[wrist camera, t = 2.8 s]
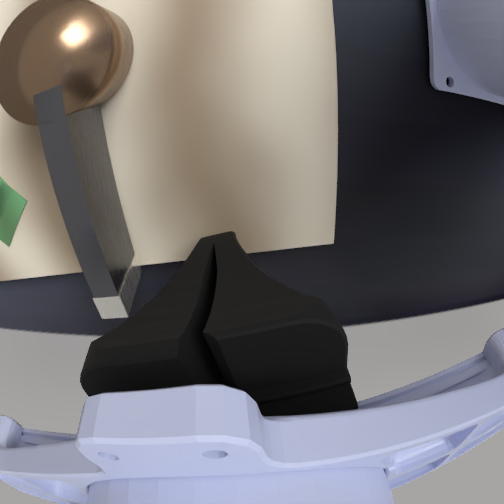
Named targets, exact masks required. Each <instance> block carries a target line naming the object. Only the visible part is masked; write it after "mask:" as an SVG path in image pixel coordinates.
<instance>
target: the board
mask: <svg viewBox="0 0 504 504" xmlns="http://www.w3.org/2000/svg"><path fill="white" fill-rule="evenodd" d="M36 1H37V0H0V41H1V39H2V37H3V35H4V33H5V32H6V30H7V28H8V27H9V25H10V24H11V23H12V21H13V20H14V19H15V18H16V17H17V16H18V15H19V14H20V13H21V12H22V11H23V10H24V9H25V8H27V7H28V6H29V5H31V4H32V3H34V2H36ZM90 1H92V2H94V3H96V4H98V5H100V6H102V7H104V8H106V9H108V10H110V11H112V12H114V13H115V14H117V15H118V16H120V17H121V18H122V19H123V20H124V21H125V23H126V24H127V25H128V27H129V29H130V31H131V34H132V38H133V44H134V53H133V60H132V65H131V68H130V71H129V73H128V75H127V77H126V79H125V81H124V82H123V84H122V85H121V87H120V88H119V89H118V91H117V92H116V93H115V94H114V95H113V96H112V97H110V98H109V99H108V100H107V101H105V102H104V103H102V104H101V105H100V106H101V112H102V118H103V123H104V129H105V134H106V140H107V145H108V150H109V154H110V159H111V164H112V168H113V173H114V177H115V182H116V186H117V190H118V194H119V198H120V202H121V206H122V210H123V214H124V217H125V221H126V225H127V228H128V232H129V235H130V239H131V242H132V246H133V249H134V252H135V253H136V255H137V258H138V261H139V265H149V264H158V263H167V262H175V261H184V260H186V259H187V258H188V256H189V255H190V253H191V252H192V250H193V249H194V247H195V246H196V244H197V243H198V241H199V240H200V238H202V237H207V236H211V235H216V234H220V233H224V232H229V231H233V232H234V233H235V234H236V238H237V240H238V242H239V244H240V245H241V247H242V248H243V250H244V251H245V252H246V253H255V252H264V251H272V250H281V249H290V248H299V247H308V246H316V245H325V244H334V232H335V215H336V194H337V162H338V97H337V66H336V47H335V31H334V18H333V7H332V0H90ZM78 272H83V271H82V269H81V266H80V264H79V261H78V259H77V256H76V254H75V251H74V248H73V246H72V243H71V240H70V237H69V235H68V232H67V229H66V226H65V223H64V220H63V217H62V214H61V211H60V208H59V205H58V202H57V198H56V195H55V192H54V188H53V185H52V181H51V177H50V174H49V170H48V166H47V162H46V158H45V154H44V150H43V145H42V141H41V136H40V131H39V127H38V126H36V125H27V124H23V123H21V122H18V121H17V120H15V119H13V118H12V117H11V116H10V115H9V114H8V113H7V112H6V111H5V110H4V109H3V107H2V106H1V104H0V281H6V280H15V279H24V278H33V277H42V276H51V275H60V274H69V273H78Z"/></svg>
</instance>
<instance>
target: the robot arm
mask: <svg viewBox="0 0 504 504" xmlns="http://www.w3.org/2000/svg"><path fill="white" fill-rule="evenodd" d="M425 1H426V10H427V21H428V34H429V56H430V82H431V84H432V86H433V87H434V88H435V89H437V90H441V91H447V92H452V93H457V94H462V95H466V96H471V97H475V98H479V99H483V100H487V101H491V102H495V103H499V104H502V105H504V0H425ZM447 78H448V79H449V85H447V84H446V79H447ZM347 355H348V342H347V336H346V334H345V332H344V329H343V328H342V326H341V324H340V322H339V321H338V319H337V318H336V316H335V315H334V314H333V312H332V311H331V310H330V308H329V307H328V306H327V305H326V303H325V302H324V301H323V300H321V299H318V298H314V297H311V296H308V295H305V294H302V293H299V292H297V291H295V290H292V289H290V288H288V287H287V286H285V285H283V284H281V283H280V282H278V281H276V280H275V279H274V278H272V277H271V276H269V275H268V274H267V273H266V272H264V271H263V270H262V269H261V268H260V267H259V266H258V265H257V264H256V263H255V262H254V261H253V260H252V259H251V258H250V257H249V256H248V255H247V253H246V252H245V251H244V250H243V248H242V247H241V245H240V244H239V242H238V240H237V238H236V234H235V233H234V232H233V231H229V232H224V233H220V234H216V235H211V236H207V237H202V238H200V240H199V241H198V243H197V244H196V246H195V247H194V249H193V250H192V252H191V253H190V255H189V256H188V258H187V259H186V261H185V262H184V264H183V265H182V266H181V268H180V269H179V270H178V271H177V273H176V274H175V275H174V277H173V278H172V279H171V280H170V282H169V283H168V284H167V285H166V286H165V287H164V288H163V289H162V290H161V291H160V292H159V293H158V295H157V296H156V297H155V298H153V299H152V300H151V301H150V302H149V303H148V304H147V305H145V306H144V307H143V308H142V309H141V310H140V311H139V312H137V313H136V314H135V315H133V316H132V317H131V318H130V319H128V320H127V321H125V322H124V323H122V324H121V325H120V326H118V327H117V328H115V329H113V330H112V331H110V332H108V333H107V334H105V335H103V336H102V337H100V338H98V339H96V340H94V341H93V342H91V344H90V347H89V350H88V353H87V356H86V359H85V363H84V366H83V369H82V372H81V377H80V382H81V385H82V387H83V389H84V391H85V392H86V393H87V395H88V396H89V397H87V399H86V401H85V404H84V406H83V410H82V414H81V419H80V423H79V427H78V432H77V434H66V433H56V432H47V431H38V430H32V429H25V428H22V426H21V425H20V424H19V423H18V422H16V421H15V420H14V419H12V418H10V417H8V416H4V415H0V480H2V481H3V482H5V483H7V484H9V485H10V486H12V487H14V488H16V489H17V490H19V491H22V492H24V493H27V494H30V495H33V496H37V497H39V498H42V499H46V500H48V501H52V502H55V503H58V504H395V503H394V500H393V497H392V493H391V490H392V489H395V488H397V487H399V486H402V485H404V484H406V483H408V482H410V481H412V480H415V479H417V478H419V477H421V476H423V475H425V474H427V473H429V472H431V471H433V470H435V469H437V468H439V467H441V466H443V465H444V464H446V463H448V462H450V461H452V460H453V459H455V458H457V457H459V456H460V455H462V454H464V453H465V452H467V451H469V450H470V449H472V448H473V447H475V446H477V445H478V444H480V443H482V442H483V441H485V440H486V439H488V438H489V437H491V436H492V435H494V434H495V433H497V432H498V431H500V430H501V429H502V428H504V328H503V329H501V330H499V331H497V332H495V333H494V334H493V335H492V336H491V337H490V338H489V339H488V341H487V342H486V344H485V347H484V349H483V352H482V353H480V354H478V355H476V356H474V357H472V358H470V359H468V360H466V361H464V362H461V363H460V364H457V365H455V366H453V367H451V368H448V369H446V370H444V371H442V372H439V373H437V374H434V375H432V376H430V377H427V378H425V379H422V380H420V381H418V382H415V383H412V384H409V385H407V386H404V387H401V388H399V389H396V390H393V391H390V392H387V393H384V394H381V395H378V396H375V397H372V398H369V399H366V400H363V401H359V402H357V401H356V398H355V395H354V392H353V389H352V387H351V384H350V383H351V377H350V374H349V371H348V369H347Z"/></svg>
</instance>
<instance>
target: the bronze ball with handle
mask: <svg viewBox="0 0 504 504" xmlns="http://www.w3.org/2000/svg"><path fill="white" fill-rule="evenodd" d="M133 53H134V44H133V38H132V34H131V31H130V29H129V27H128V25H127V24H126V23H125V21H124V20H123V19H122V18H121V17H120V16H118V15H117V14H115V13H114V12H112V11H110V10H108V9H106V8H104V7H102V6H100V5H98V4H96V3H94V2H92V1H90V0H37V1H36V2H34V3H32V4H31V5H29V6H28V7H27V8H25V9H24V10H23V11H22V12H21V13H20V14H19V15H18V16H17V17H16V18H15V19H14V20H13V21H12V23H11V24H10V25H9V27H8V28H7V30H6V32H5V33H4V35H3V37H2V39H1V41H0V104H1V106H2V107H3V109H4V110H5V111H6V112H7V113H8V114H9V115H10V116H11V117H12V118H13V119H15V120H17V121H18V122H21V123H23V124H27V125H36V126H38V127H39V131H40V136H41V141H42V145H43V150H44V154H45V158H46V162H47V166H48V170H49V174H50V177H51V181H52V185H53V188H54V192H55V195H56V198H57V202H58V205H59V208H60V211H61V214H62V217H63V220H64V223H65V226H66V229H67V232H68V235H69V237H70V240H71V243H72V246H73V248H74V251H75V254H76V256H77V259H78V261H79V264H80V266H81V269H82V271H83V274H84V276H85V279H86V281H87V283H88V286H89V288H90V290H91V292H92V295H93V300H94V303H95V305H96V307H97V309H98V311H99V313H100V315H101V317H102V319H109V318H125V317H129V313H130V310H131V306H132V303H133V299H134V296H135V293H136V289H137V286H138V283H139V280H140V276H141V273H142V271H141V268H140V265H139V261H138V258H137V255H136V253H135V252H134V249H133V246H132V242H131V239H130V235H129V232H128V228H127V225H126V221H125V217H124V214H123V210H122V206H121V202H120V198H119V194H118V190H117V186H116V182H115V177H114V173H113V168H112V164H111V159H110V154H109V150H108V145H107V140H106V134H105V129H104V123H103V118H102V112H101V106H100V105H101V104H102V103H104V102H105V101H107V100H108V99H109V98H110V97H112V96H113V95H114V94H115V93H116V92H117V91H118V89H119V88H120V87H121V85H122V84H123V82H124V81H125V79H126V77H127V75H128V73H129V71H130V68H131V65H132V60H133Z"/></svg>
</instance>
